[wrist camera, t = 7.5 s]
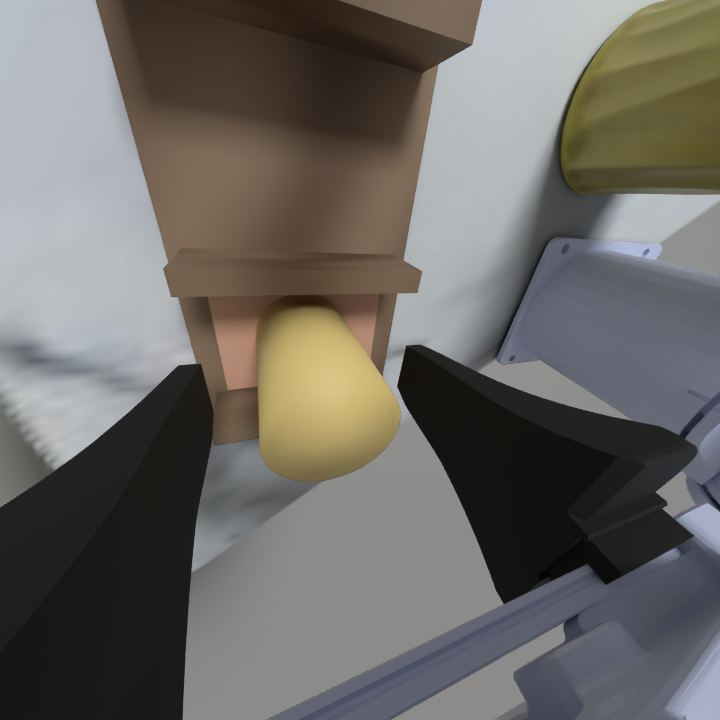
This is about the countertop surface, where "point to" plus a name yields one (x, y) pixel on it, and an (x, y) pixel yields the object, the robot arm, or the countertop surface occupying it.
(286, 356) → the peg
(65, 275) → the countertop surface
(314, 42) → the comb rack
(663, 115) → the vase
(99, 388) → the countertop surface
